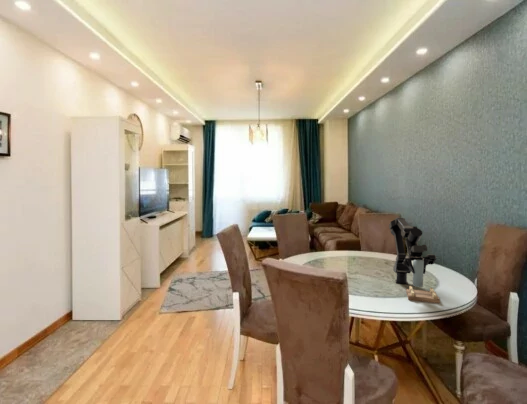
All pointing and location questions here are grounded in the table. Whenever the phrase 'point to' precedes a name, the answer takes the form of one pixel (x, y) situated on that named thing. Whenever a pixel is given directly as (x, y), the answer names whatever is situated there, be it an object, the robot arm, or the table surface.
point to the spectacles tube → (418, 272)
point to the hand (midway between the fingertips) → (419, 273)
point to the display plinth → (422, 295)
